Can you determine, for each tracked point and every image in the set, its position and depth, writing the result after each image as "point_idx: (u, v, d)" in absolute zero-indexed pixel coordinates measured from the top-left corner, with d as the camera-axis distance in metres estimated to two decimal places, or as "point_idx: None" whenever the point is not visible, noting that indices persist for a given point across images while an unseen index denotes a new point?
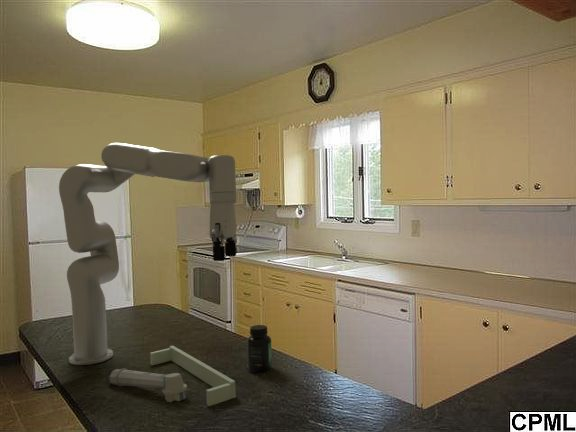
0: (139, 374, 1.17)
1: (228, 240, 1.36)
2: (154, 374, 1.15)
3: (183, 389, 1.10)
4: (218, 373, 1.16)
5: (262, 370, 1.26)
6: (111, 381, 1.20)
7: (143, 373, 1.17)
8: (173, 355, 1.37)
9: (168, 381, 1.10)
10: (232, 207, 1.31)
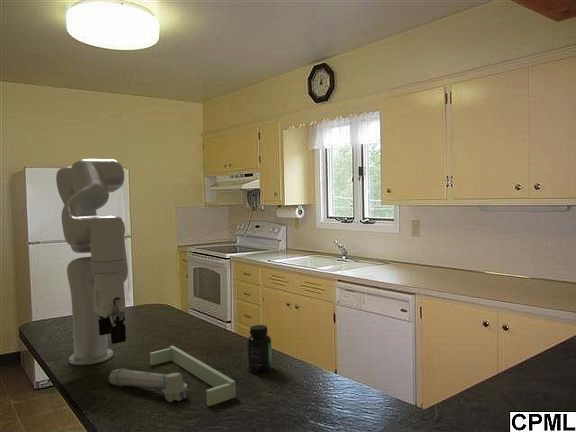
0: (139, 374, 1.17)
1: None
2: (154, 374, 1.15)
3: (183, 389, 1.10)
4: (218, 373, 1.16)
5: (262, 370, 1.26)
6: (111, 381, 1.20)
7: (143, 373, 1.17)
8: (173, 355, 1.37)
9: (168, 381, 1.10)
10: None
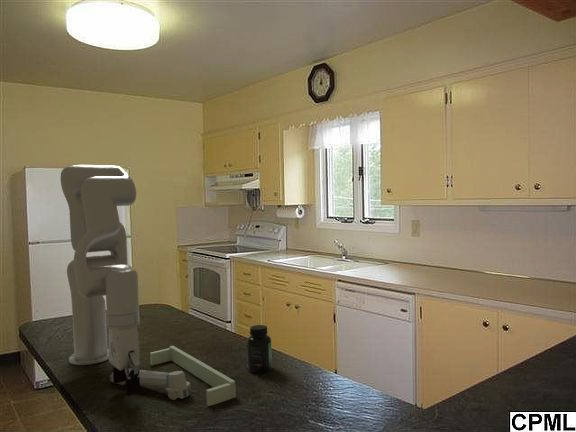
0: (141, 372, 1.17)
1: None
2: (157, 372, 1.16)
3: (186, 386, 1.11)
4: (218, 373, 1.16)
5: (262, 370, 1.26)
6: (112, 380, 1.21)
7: (145, 371, 1.18)
8: (173, 355, 1.37)
9: (171, 379, 1.11)
10: None
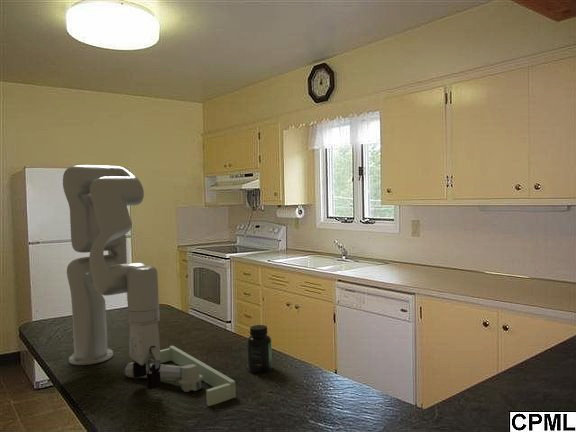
0: None
1: None
2: (170, 366, 1.20)
3: (199, 379, 1.16)
4: (218, 373, 1.16)
5: (262, 370, 1.26)
6: (126, 374, 1.25)
7: None
8: (173, 355, 1.37)
9: (185, 372, 1.16)
10: None
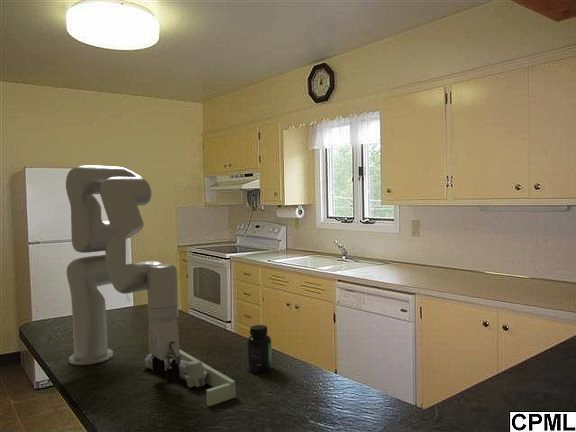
0: None
1: None
2: None
3: (202, 376, 1.17)
4: (218, 373, 1.16)
5: (262, 370, 1.26)
6: (145, 364, 1.31)
7: (171, 359, 1.26)
8: None
9: (189, 368, 1.18)
10: None
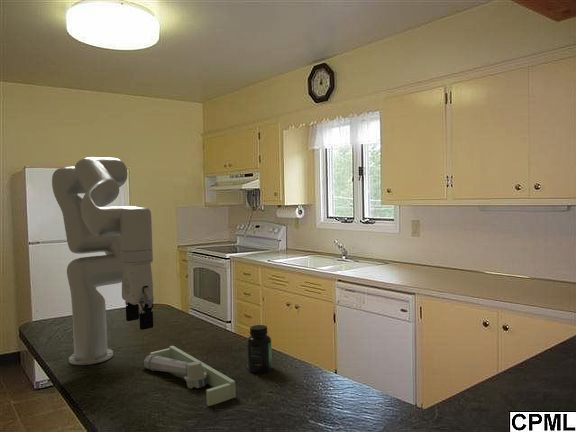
0: (167, 360, 1.26)
1: (130, 302, 1.19)
2: (179, 361, 1.23)
3: (202, 377, 1.17)
4: (218, 373, 1.16)
5: (262, 370, 1.26)
6: (145, 365, 1.31)
7: (170, 360, 1.26)
8: (173, 355, 1.37)
9: (189, 369, 1.18)
10: None
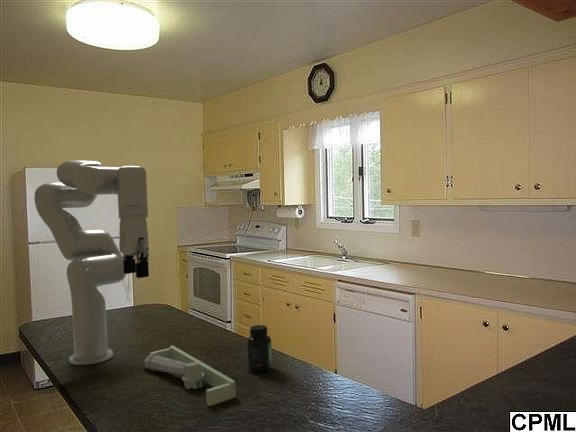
0: (166, 361, 1.26)
1: (127, 256, 1.28)
2: (178, 362, 1.23)
3: (199, 378, 1.16)
4: (218, 373, 1.16)
5: (262, 370, 1.26)
6: (145, 365, 1.31)
7: (169, 360, 1.25)
8: (173, 355, 1.37)
9: (186, 369, 1.17)
10: None
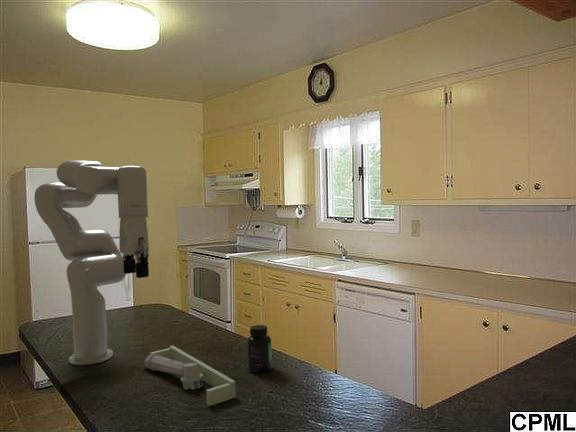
0: (166, 361, 1.26)
1: (127, 256, 1.28)
2: (177, 362, 1.23)
3: (197, 379, 1.16)
4: (218, 373, 1.16)
5: (262, 370, 1.26)
6: (145, 365, 1.32)
7: (169, 360, 1.25)
8: (173, 355, 1.37)
9: (185, 370, 1.17)
10: None
